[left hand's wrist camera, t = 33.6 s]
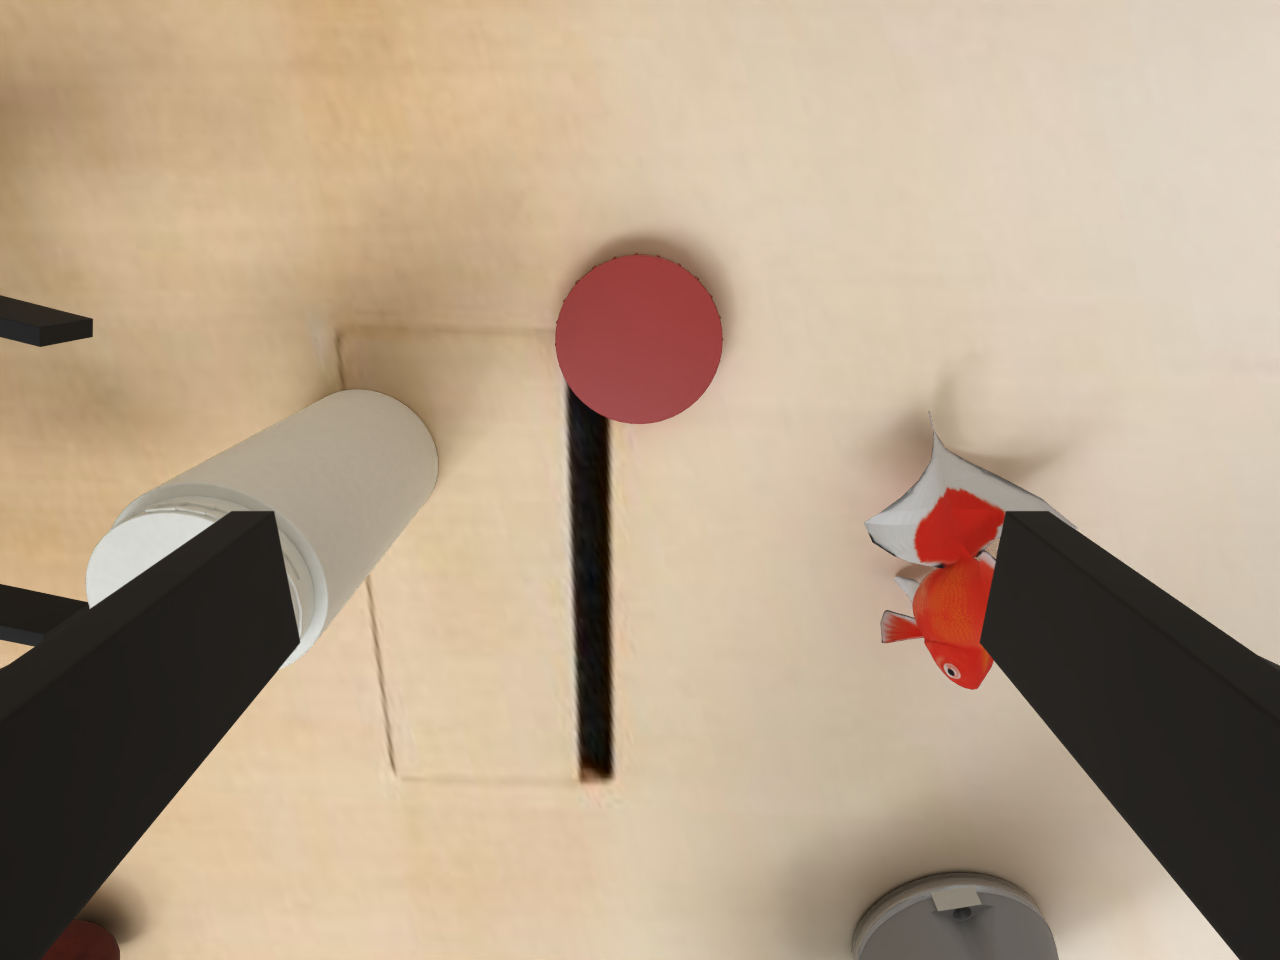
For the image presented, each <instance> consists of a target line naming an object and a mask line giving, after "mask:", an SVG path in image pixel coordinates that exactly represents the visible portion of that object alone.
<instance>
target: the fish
mask: <svg viewBox="0 0 1280 960" xmlns="http://www.w3.org/2000/svg"><path fill="white" fill-rule="evenodd" d="M929 417H930V423H931V426H932V429H933V432H934V438H933V449H932V457H931V462H930V463H929V465H928V467H927V468H926V470H925V471H924V473H923V474H922V476H921V478H920V479H919V480H918V481H917V482H916V483H915V484H914V485H913V486H912V487H911V488H910V489H909V490H908V491H907V492H906V493H905V494H904V495H903V496H902V497H901V498H900V499H899V500H897V501H896V502H894V503H893V504H892V505H890V506H889V507H888V508H886V509H885V510H883V511H882V512H880V513H879V514H877V515H875V516H874V517H872V518H870V519H869V520H867V521H865V522H864V524H865V526H866V528H867V531H868V533H869V535H870V537H871V540H872V542H873V543H875V544H876V545H878V546H879V547H881V548H882V549H884V550H886V551H887V552H889V553H890V554H892V555H894V556H895V557H898V558H900V559H903V560H905V561H908V562H912V563H916V564H921V565H926V566H931V567H933V568H934V571H933V572H931V573H930V574H929V575H927V576H926V577H925V578H924V580H923V581H922V582H921V583H920V584H919V583H918V582H917V581H916V580H913V579H908V578H903V577H898V576H896V577H895V582H896V583H897V584H898V585H899V587H900V588H901V589H902V590H903V591H904V592H905V593H906V594H907V596H908V597H909V598H910V600H911V601H912V603H913V613H914V618H912V617H909V616H906V615H902V614H898V613H895V612H892V611H889V610H886V611H885V612H884V614H883V617H882V620H881V632H882V643H891V642H895V641H902V640H907V639H916V638H924V639H925V642H924V643H925V645H926V647H927V648H928V650H929V652H930V653H931V655H932V657H933V659H934V661H935V662H936V664H937V665H938V667H939V668H940V669H941V671H942V672H943V673H944V674H945V675H946V676H947V677H948V678H949V679H950V680H951V681H953V682H955V683H956V684H958V685H960V686H962V687H964V688H968V689H972V690H974V689H977V688H978V687H979V686H980V684H981V682H982V681H983V679H984V678H985V676H986V675H987V673H988V672H989V670H990V668H991V667H992V664H993V661H994V660H993V659H992V657H991V656H990V655H989V654H988V652H987V651H986V650H985V649H984V648H983V646H982V645H981V644H980V643H979V642H980V637H981V632H982V627H983V622H984V617H985V612H986V607H987V602H988V597H989V592H990V587H991V582H992V577H993V572H994V567H995V562H996V559H995V558H994V557H993V556H991V555H990V554H989V553H988V552H986V551H985V549H986V548H987V547H988V546H989V545H990V544H991V543H992V542H993V541H994V540H995V539H997V538H999V537H1001V532H1002V527H1003V522H1004V517H1005V512H1006V511H1049V512H1051V513H1052V514H1054V515H1055V516H1056V517H1058V518H1059V519H1061V520H1062V521H1064V522H1065V523H1067V524H1068V525H1069V526H1071V527H1072V528H1075V529H1078V528H1077V527H1076V526H1075V525H1073V524H1072V523H1071V522H1070V521H1068V520H1067V519H1066V518H1065V517H1064V516H1062V515H1061V514H1060V513H1059V512H1057V511H1056V510H1055V509H1054V508H1053V507H1051V506H1050V505H1049V504H1048V503H1046V502H1045V501H1044V500H1043V499H1041V498H1039V497H1038V496H1036V495H1034V494H1032V493H1030V492H1028V491H1026V490H1024V489H1022V488H1020V487H1018V486H1017V485H1015V484H1013V483H1011V482H1009V481H1007V480H1005V479H1003V478H1001V477H999V476H997V475H995V474H993V473H991V472H989V471H987V470H985V469H983V468H980V467H978V466H976V465H974V464H972V463H970V462H968V461H966V460H965V459H963V458H961V457H959V456H957V455H956V454H954V453H952V452H950V451H949V450H947V449H946V448H945V447H944V445H943V444H942V442H941V441H940V439H939V438H938V436H937V435H936V433H935V430H934V425H933V421H932V417H931V413H930V411H929ZM980 554H981V555H980ZM979 555H980V561H978V560H976V559H975V558H973V557H978V556H979Z"/></svg>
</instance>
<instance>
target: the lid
mask: <svg viewBox="0 0 1280 960" xmlns="http://www.w3.org/2000/svg"><path fill="white" fill-rule="evenodd" d="M698 280H699V278H698V277H694V276H693V275H692V274H691V273H689V272H688V271H687V270H686V269H684V268H682V267H681V264H679V263H678V264H676V263H674V262H672V261H670V260H667V259H664V258H661V257H660V256H659V255H657V256H652V255H641V254H638V253H635V255H625V256H621V257H617V258H616V256H615V257H613V259H611V260H609V261H606V262H604V263H602V264H600V265H599V266H597V267H596V266H594V267H593V270H591V271H590V272H589V273H587V274H586V275H585V276H584V277H583V278H582V279H581V280H580V281H579V280H578V281H577V282H576V285H575V286H574V288H573V289H572V290H571V292H570V293H569V295H568V296H567V298H566V299H565V300H564V301H563V302H564V304H563V306H562V309H561V311H560V314H559V318H558V320H557V322H556V323H557V327H556V343H555V346H556V352H557V358H558V362H559V366H560V368H561V371H562V373H563V376H564V378H565V380H566V381H567V383H568V385H569V386H570V388H571V389H572V390H573V392H574V393H575V394H576V396H577V397H578V398H579V399H580V400H581V401H582V402H583V403H585V404H586V405H587V406H588V407H590V408H591V409H592V410H594V411H596V412H597V413H599V414H601V415H603V416H605V417H607V418H610V419H612V420H616V421H619V422H624V423H630V424H646V423H654V422H659V421H663V420H666V419H668V418H671V417H673V416H675V415H677V414H679V413H681V412H683V411H684V410H686V409H687V408H689V407H690V406H691V405H692V404H693V403H695V402H696V401H697V400H698V399H699V398H700V397H701V395H702V394H703V393H704V392H705V391H706V389H707V388H708V386H709V385H710V383H711V382H712V380H713V378H714V376H715V374H716V371H717V368H718V365H719V362H720V358H721V353H722V341H723V338H722V327H721V322H720V318H721V317H720V316H719V314H718V311H717V308H716V306H715V304H714V302H713V300H712V296H711V295H710V294H709V293H708V292H707V290H706V289H705V288H704V286H703V285H702V284H701V283H700V282H699V281H698Z"/></svg>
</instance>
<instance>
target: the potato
mask: <svg viewBox="0 0 1280 960" xmlns="http://www.w3.org/2000/svg"><path fill="white" fill-rule="evenodd" d="M41 960H120V950H119V947H118V944H117V941H116V940H115V938H114V936H113V935H112V934H111V933H109V932H108V931H107V930H106V929H104V928H103V927H101V926H100V925H98V924H95V923H91V922H87V921H83V920H75V919H73V921H72V922H71V923H70V924H69V925H68V927H67V928H66V929H65V930H64V931H63V933H62V934H61V935H60V936H59V938H58V939H57V940H56V941H55V942H54V944H53V945H52V946H51V947H50V949H49V950H48V951H47V952H46V953H45V955H44V956H43V957H42V958H41Z"/></svg>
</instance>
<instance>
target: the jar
mask: <svg viewBox="0 0 1280 960" xmlns="http://www.w3.org/2000/svg"><path fill="white" fill-rule="evenodd" d="M437 475H438V456H437V451H436V447H435V444H434V441H433V439H432V436H431V434H430V433H429V431H428V429H427V427H426V426H425V425H424V423H423V422H422V421H421V419H420V418H419V417H418V416H417V415H416V414H415V413H414V412H413V411H412V410H411V409H409V408H408V407H407V406H406V405H404V404H403V403H401V402H400V401H398V400H396V399H394V398H392V397H390V396H388V395H385V394H382V393H379V392H375V391H371V390H362V389H351V390H344V391H340V392H336V393H333V394H331V395H329V396H326V397H324V398H322V399H321V400H319V401H317V402H315V403H313V404H311V405H309V406H307V407H306V408H304V409H302V410H300V411H298V412H296V413H294V414H292V415H291V416H289V417H287V418H285V419H283V420H281V421H279V422H277V423H276V424H274V425H272V426H270V427H268V428H266V429H264V430H263V431H261V432H259V433H257V434H255V435H253V436H251V437H249V438H248V439H246V440H244V441H242V442H240V443H238V444H236V445H234V446H233V447H231V448H229V449H227V450H225V451H223V452H221V453H219V454H218V455H216V456H214V457H212V458H210V459H208V460H206V461H204V462H203V463H201V464H199V465H197V466H195V467H193V468H191V469H189V470H188V471H186V472H184V473H182V474H180V475H178V476H176V477H174V478H173V479H171V480H169V481H167V482H165V483H163V484H161V485H159V486H158V487H156V488H154V489H152V490H150V491H148V492H146V493H144V494H143V495H141V496H140V497H138V498H137V499H135V500H134V501H132V502H131V503H130V504H129V505H128V506H127V507H126V508H125V509H124V510H123V511H122V513H121V514H120V515H119V516H118V518H117V519H116V521H115V523H114V525H113V527H112V528H111V529H110V530H109V532H108V533H107V534H106V535H105V536H104V537H103V538H102V539H101V540H100V542H99V543H98V544H97V546H96V547H95V549H94V551H93V553H92V555H91V557H90V560H89V563H88V566H87V572H86V593H87V599H88V603H89V606H90V608H92V607H93V606H95V605H96V604H98V603H99V602H100V601H102V600H103V599H105V598H106V597H108V596H109V595H111V594H112V593H113V592H115V591H116V590H118V589H119V588H121V587H122V586H124V585H125V584H127V583H128V582H129V581H131V580H132V579H134V578H135V577H137V576H138V575H140V574H141V573H142V572H144V571H145V570H147V569H148V568H150V567H151V566H153V565H154V564H156V563H157V562H158V561H160V560H161V559H163V558H164V557H166V556H167V555H169V554H170V553H171V552H173V551H174V550H176V549H177V548H179V547H180V546H182V545H183V544H184V543H186V542H187V541H189V540H190V539H192V538H193V537H195V536H196V535H198V534H199V533H200V532H202V531H203V530H205V529H206V528H208V527H209V526H211V525H212V524H213V523H215V522H216V521H218V520H219V519H221V518H222V517H224V516H225V515H226V514H228V513H229V512H231V511H274V512H275V517H276V522H277V527H278V532H279V537H280V542H281V547H282V552H283V557H284V562H285V567H286V572H287V577H288V582H289V587H290V592H291V597H292V602H293V607H294V612H295V617H296V622H297V627H298V632H299V637H300V642H301V643H300V644H299V645H298V646H297V648H296V649H295V650H294V651H293V652H292V654H291V655H290V656H289V657H288V659H287V660H286V661H285V662H284V663H283V665H282V666H281V667H280V668H279V669H281V668H283V667H286V666H287V665H289V664H291V663H293V662H295V661H296V660H298V659H299V658H300V657H301V656H303V655H304V654H305V653H306V652H307V651H308V650H309V649H310V648H311V647H312V646H313V645H314V644H315V642H316V641H317V640H318V638H319V637H320V636H321V635H322V633H323V632H324V631H325V630H326V628H327V627H328V626H329V624H330V623H331V622H332V621H333V619H334V618H335V617H336V615H337V614H338V613H339V612H340V610H341V609H342V608H343V607H344V605H345V604H346V603H347V601H348V600H349V599H350V598H351V596H352V595H353V594H354V593H355V591H356V590H357V589H358V587H359V586H360V585H361V584H362V582H363V581H364V580H365V579H366V577H367V576H368V575H369V573H370V572H371V571H372V570H373V568H374V567H375V566H376V565H377V563H378V562H379V561H380V559H381V558H382V557H383V556H384V554H385V553H386V552H387V551H388V549H389V548H390V547H391V545H392V544H393V543H394V542H395V540H396V539H397V538H398V537H399V535H400V534H401V533H402V531H403V530H404V529H405V528H406V526H407V525H408V524H409V523H410V521H411V520H412V519H413V517H414V516H415V515H416V514H417V512H418V511H419V510H420V509H421V507H422V506H423V505H424V503H425V502H426V501H427V499H428V498H429V496H430V495H431V493H432V491H433V489H434V487H435V484H436V480H437Z"/></svg>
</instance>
